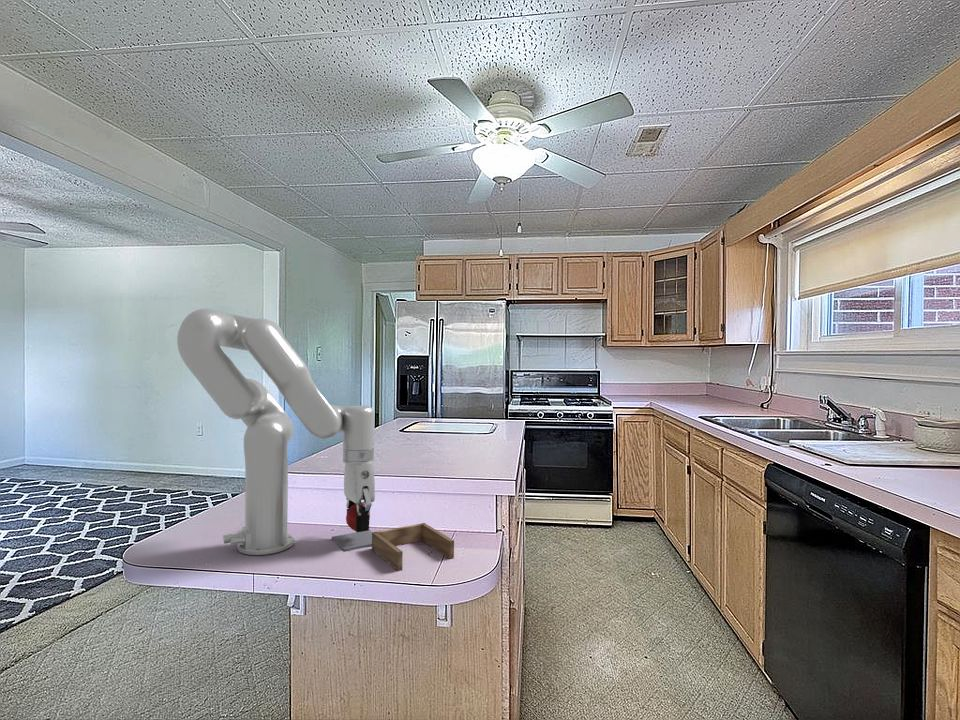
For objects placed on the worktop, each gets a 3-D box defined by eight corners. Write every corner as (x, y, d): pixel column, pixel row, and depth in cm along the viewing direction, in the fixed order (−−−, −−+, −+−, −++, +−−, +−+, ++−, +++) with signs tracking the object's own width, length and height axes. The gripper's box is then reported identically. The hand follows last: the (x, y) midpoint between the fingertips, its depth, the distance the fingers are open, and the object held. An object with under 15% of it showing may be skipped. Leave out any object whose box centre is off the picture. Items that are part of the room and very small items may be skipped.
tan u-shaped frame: (398, 570, 113) (398, 552, 113) (371, 549, 125) (372, 532, 125) (453, 557, 121) (454, 540, 121) (424, 538, 133) (424, 522, 133)
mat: (344, 551, 124) (344, 549, 124) (331, 538, 132) (331, 536, 132) (384, 543, 129) (384, 541, 129) (369, 531, 138) (369, 529, 138)
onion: (363, 536, 127) (364, 504, 127) (341, 534, 128) (342, 502, 128) (373, 529, 133) (373, 497, 133) (352, 527, 134) (352, 496, 134)
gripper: (386, 459, 125) (385, 534, 126) (360, 448, 140) (359, 516, 140) (356, 463, 121) (355, 540, 121) (332, 451, 136) (332, 520, 136)
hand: (357, 526), depth 131 cm, fingers closed on onion, 5 cm apart
